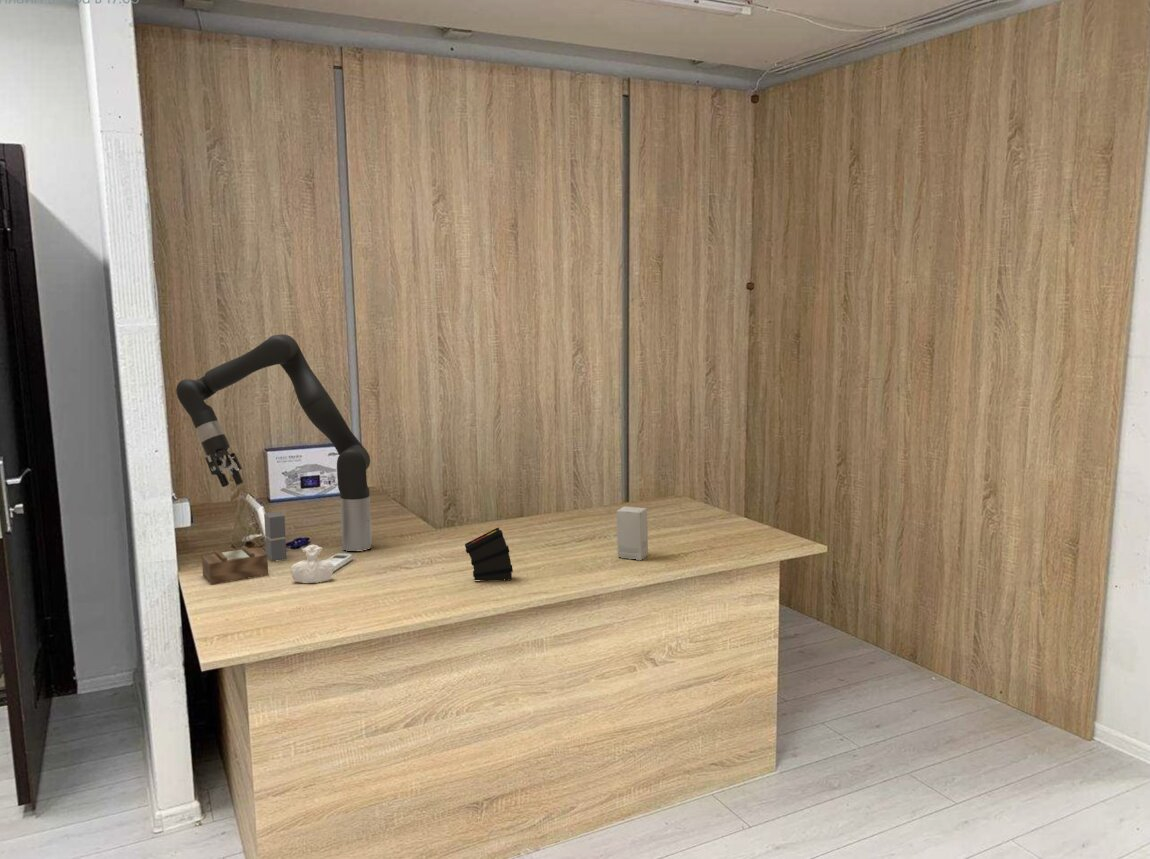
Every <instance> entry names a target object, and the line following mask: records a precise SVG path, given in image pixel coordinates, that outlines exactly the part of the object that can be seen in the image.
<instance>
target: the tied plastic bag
mask: <svg viewBox="0 0 1150 859" xmlns="http://www.w3.org/2000/svg"><path fill="white" fill-rule="evenodd" d="M301 550H302V552H303V553H305V556H307V557H306V559H305V560H299V561H298V562H296V563H294V564H292V566H290V574H291V578H292V580H293V581H294V582H295V583H302V584H304V583H307V584H313V583H315V584H319V583H318V582H320V583H323V582H328V581H330V580H331V579H332V576H333V572H334V567H335V565H334V564H333V563H332V562H331V561H327V560H326V559H319V557H318V556H320V555H321V551H322V550H323V547H321V546H318V545H317V544H310V545H308V546H306V547H304V548H301Z"/></svg>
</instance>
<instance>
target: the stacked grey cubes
mask: <svg viewBox="0 0 1150 859" xmlns="http://www.w3.org/2000/svg"><path fill="white" fill-rule="evenodd" d="M263 515H264V516H263V519H264V540H265V553H266V554H267V558H268V560H269V559H270V560H271V561H275V562H277V561H276V560H281V561H283V560H282V559H287V539H286V538H287V536H286V520H285V518H286V517H285V515H284V514H283V513H281V512H280V511H276V512H268V513H264V514H263ZM270 560H269V561H270ZM271 561H270V562H271Z"/></svg>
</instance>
